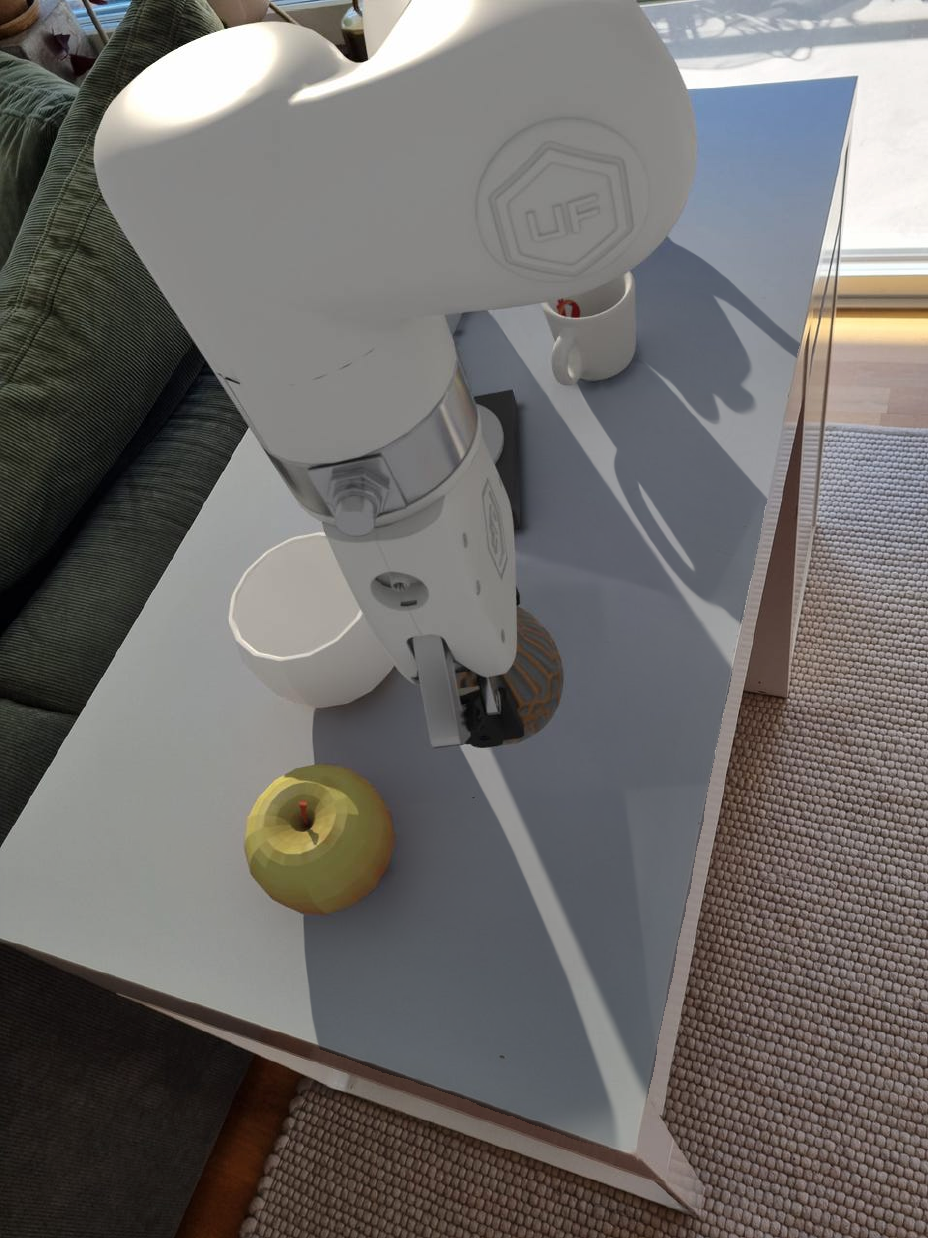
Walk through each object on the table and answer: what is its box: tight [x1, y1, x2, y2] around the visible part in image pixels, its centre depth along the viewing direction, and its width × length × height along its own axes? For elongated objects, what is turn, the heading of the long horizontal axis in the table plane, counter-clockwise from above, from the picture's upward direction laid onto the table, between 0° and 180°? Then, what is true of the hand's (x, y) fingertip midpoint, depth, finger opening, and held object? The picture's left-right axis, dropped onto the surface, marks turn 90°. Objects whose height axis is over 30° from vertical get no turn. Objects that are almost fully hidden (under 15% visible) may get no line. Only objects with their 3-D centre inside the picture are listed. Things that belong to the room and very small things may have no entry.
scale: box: [473, 389, 521, 530], centre depth 81 cm, size 12×14×3 cm
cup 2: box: [541, 270, 637, 387], centre depth 82 cm, size 11×8×8 cm
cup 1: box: [227, 531, 395, 709], centre depth 71 cm, size 12×12×10 cm
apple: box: [243, 763, 396, 915], centre depth 62 cm, size 10×10×8 cm
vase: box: [455, 605, 565, 747], centre depth 47 cm, size 7×7×9 cm
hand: (492, 667), depth 48 cm, fingers closed on vase, 6 cm apart
